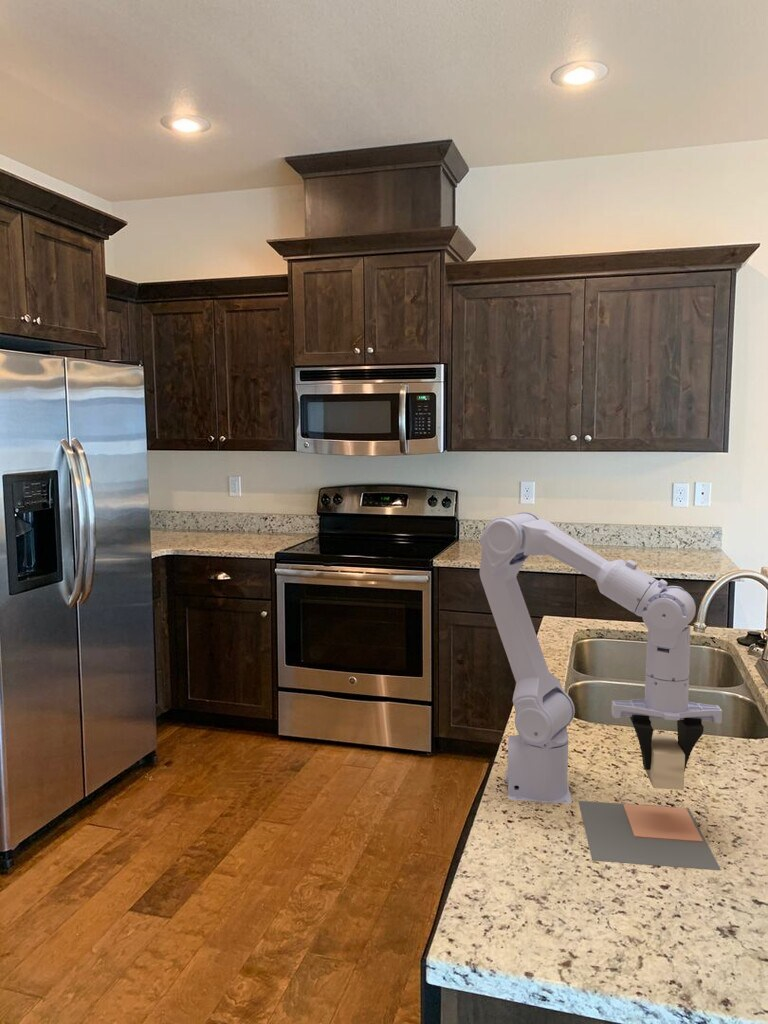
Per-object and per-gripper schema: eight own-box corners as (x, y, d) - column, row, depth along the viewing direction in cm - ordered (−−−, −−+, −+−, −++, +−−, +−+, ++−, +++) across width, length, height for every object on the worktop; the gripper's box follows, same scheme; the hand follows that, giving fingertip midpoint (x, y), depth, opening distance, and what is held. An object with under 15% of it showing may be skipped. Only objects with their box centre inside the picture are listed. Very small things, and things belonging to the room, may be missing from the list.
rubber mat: (592, 862, 98) (592, 858, 98) (578, 803, 114) (578, 799, 113) (720, 873, 96) (721, 868, 95) (688, 810, 111) (688, 806, 111)
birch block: (643, 765, 110) (644, 733, 110) (671, 767, 110) (672, 734, 109) (653, 788, 103) (654, 753, 103) (683, 789, 103) (685, 755, 102)
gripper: (618, 681, 102) (615, 777, 103) (730, 686, 100) (726, 784, 101) (610, 665, 109) (607, 755, 110) (715, 670, 107) (711, 761, 108)
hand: (663, 767), depth 106 cm, fingers closed on birch block, 4 cm apart
